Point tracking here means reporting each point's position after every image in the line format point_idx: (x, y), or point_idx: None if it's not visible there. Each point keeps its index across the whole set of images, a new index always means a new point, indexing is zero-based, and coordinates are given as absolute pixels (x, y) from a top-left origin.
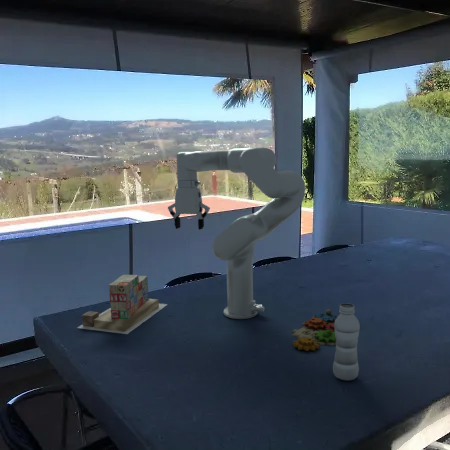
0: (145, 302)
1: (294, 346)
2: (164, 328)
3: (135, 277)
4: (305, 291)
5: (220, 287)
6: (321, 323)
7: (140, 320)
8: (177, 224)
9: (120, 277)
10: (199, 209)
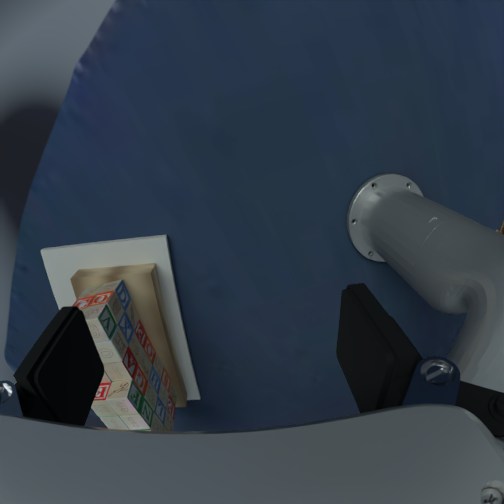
0: (134, 304)
1: None
2: (246, 353)
3: (138, 413)
4: (474, 26)
5: (243, 10)
6: None
7: (176, 349)
8: (91, 391)
9: (104, 420)
10: (429, 474)
